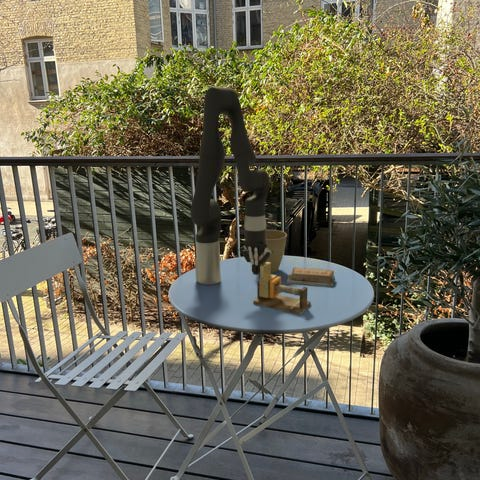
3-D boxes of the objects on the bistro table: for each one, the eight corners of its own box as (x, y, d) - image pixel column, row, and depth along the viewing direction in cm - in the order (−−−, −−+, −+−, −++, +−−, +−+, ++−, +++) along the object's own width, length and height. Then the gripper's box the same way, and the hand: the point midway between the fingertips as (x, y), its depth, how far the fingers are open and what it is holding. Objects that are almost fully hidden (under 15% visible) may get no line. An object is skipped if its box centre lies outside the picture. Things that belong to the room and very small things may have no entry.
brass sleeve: (259, 296, 161) (259, 266, 158) (268, 290, 166) (268, 261, 163) (268, 298, 159) (267, 268, 156) (276, 292, 164) (276, 262, 161)
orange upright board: (269, 297, 159) (269, 281, 157) (278, 291, 164) (277, 276, 162) (273, 298, 158) (272, 282, 157) (280, 292, 163) (280, 276, 161)
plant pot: (245, 268, 198) (245, 232, 194) (275, 262, 204) (275, 228, 200) (262, 278, 185) (262, 241, 181) (293, 272, 192) (293, 235, 187)
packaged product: (335, 267, 183) (332, 276, 174) (334, 278, 184) (332, 288, 175) (291, 264, 188) (286, 272, 179) (291, 275, 190) (286, 283, 180)
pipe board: (253, 303, 162) (253, 283, 159) (265, 295, 169) (265, 275, 167) (299, 314, 152) (299, 293, 150) (310, 304, 159) (310, 284, 157)
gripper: (277, 227, 158) (277, 273, 163) (244, 223, 165) (246, 268, 170) (266, 232, 152) (267, 280, 157) (233, 227, 159) (235, 274, 164)
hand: (256, 274), depth 163 cm, fingers closed
